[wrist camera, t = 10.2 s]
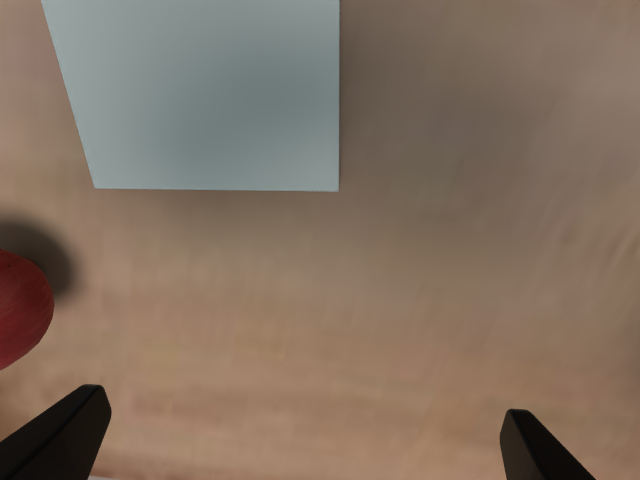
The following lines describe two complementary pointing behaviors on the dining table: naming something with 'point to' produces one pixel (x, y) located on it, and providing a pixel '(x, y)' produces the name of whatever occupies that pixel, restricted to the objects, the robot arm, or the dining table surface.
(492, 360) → the dining table surface
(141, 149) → the dock
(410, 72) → the dining table surface
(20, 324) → the onion
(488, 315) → the dining table surface
